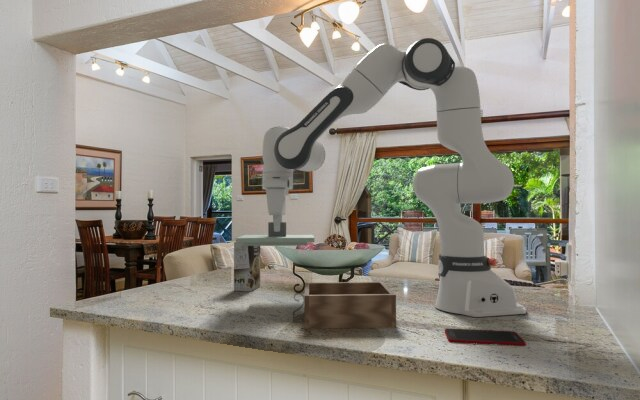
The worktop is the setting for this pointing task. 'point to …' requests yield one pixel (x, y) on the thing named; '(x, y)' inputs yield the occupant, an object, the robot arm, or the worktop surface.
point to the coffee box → (246, 267)
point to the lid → (275, 238)
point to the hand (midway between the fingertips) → (277, 231)
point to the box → (349, 305)
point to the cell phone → (484, 337)
